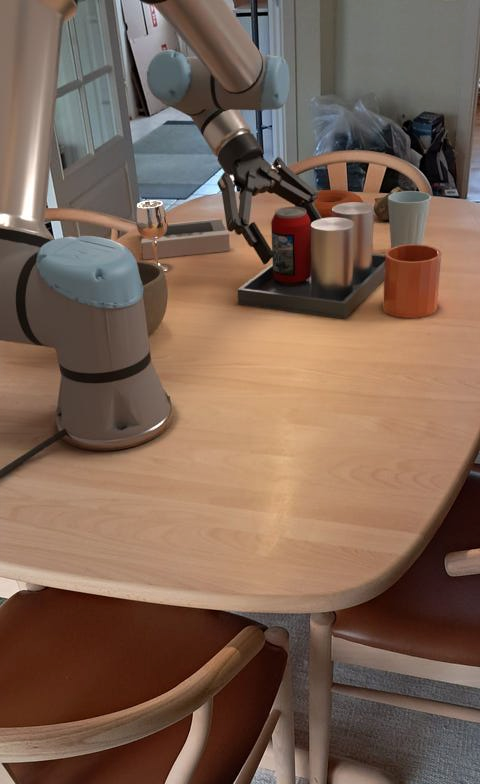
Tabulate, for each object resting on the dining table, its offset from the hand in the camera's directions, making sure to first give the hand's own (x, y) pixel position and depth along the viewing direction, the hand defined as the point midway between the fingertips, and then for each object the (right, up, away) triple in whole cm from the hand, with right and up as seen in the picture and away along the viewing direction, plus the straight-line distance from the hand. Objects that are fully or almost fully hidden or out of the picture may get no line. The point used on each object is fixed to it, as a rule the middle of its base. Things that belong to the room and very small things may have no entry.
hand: (297, 249), depth 143 cm
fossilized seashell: (+23, +17, +32) cm, 43 cm away
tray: (+4, -6, +3) cm, 7 cm away
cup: (+22, +4, +14) cm, 26 cm away
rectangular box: (-21, +10, +27) cm, 36 cm away
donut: (+9, +17, +33) cm, 38 cm away
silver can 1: (+6, -9, -3) cm, 11 cm away
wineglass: (-26, +1, +16) cm, 30 cm away
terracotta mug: (+19, -11, -6) cm, 23 cm away
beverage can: (-1, -4, +4) cm, 6 cm away
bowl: (-30, -17, -9) cm, 35 cm away
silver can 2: (+10, -4, +4) cm, 11 cm away
